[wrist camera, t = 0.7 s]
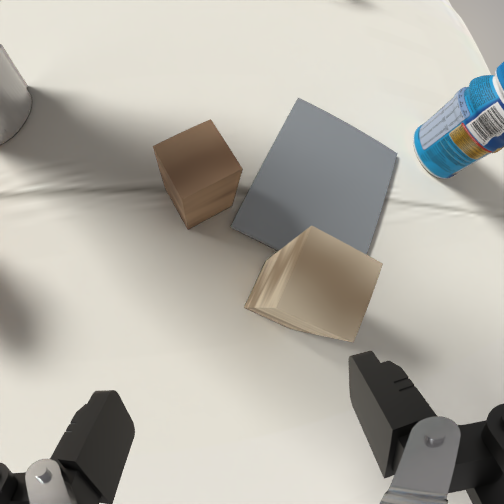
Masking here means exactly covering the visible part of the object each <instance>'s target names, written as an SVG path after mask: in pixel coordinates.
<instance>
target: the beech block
mask: <svg viewBox="0 0 504 504" xmlns="http://www.w3.org/2000/svg"><path fill="white" fill-rule="evenodd" d="M382 265H383V264H382V263H380V262H379V261H377V260H375V259H373V258H371V257H370V256H368V255H366V254H364V253H362V252H361V251H359V250H357V249H355V248H353V247H351V246H350V245H348V244H346V243H344V242H342V241H340V240H338V239H336V238H335V237H333V236H331V235H329V234H327V233H325V232H323V231H321V230H319V229H318V228H316V227H314V226H310V227H309V228H308V229H306V230H305V231H304V232H303V233H301V234H300V235H299V236H297V237H296V238H295V239H293V240H292V241H291V242H290V243H288V244H287V245H286V246H284V247H283V248H282V249H281V250H279V251H278V252H277V253H275V254H274V255H273V256H271V257H270V258H269V259H268V260H266V261H265V263H264V266H263V268H262V270H261V272H260V274H259V276H258V279H257V281H256V283H255V285H254V287H253V289H252V291H251V294H250V296H249V298H248V300H247V302H246V304H245V306H244V308H246V309H248V310H250V311H253V312H255V313H257V314H259V315H261V316H263V317H266V318H268V319H270V320H272V321H274V322H276V323H279V324H281V325H283V326H285V327H288V328H290V329H294V330H298V331H302V332H307V333H311V334H316V335H320V336H325V337H329V338H334V339H339V340H344V341H348V342H354V340H355V337H356V335H357V333H358V330H359V328H360V325H361V323H362V320H363V317H364V315H365V312H366V310H367V307H368V304H369V302H370V299H371V296H372V293H373V291H374V288H375V285H376V282H377V279H378V277H379V274H380V271H381V268H382Z"/></svg>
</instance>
